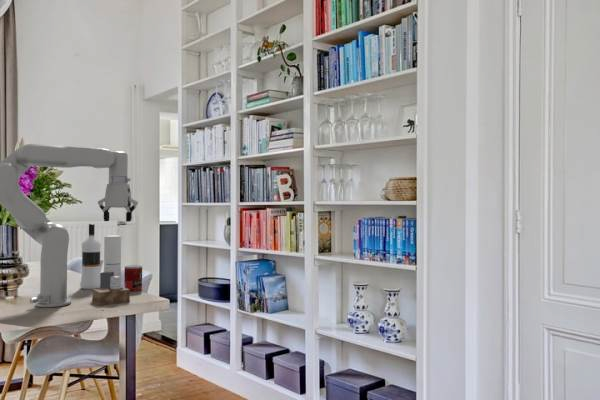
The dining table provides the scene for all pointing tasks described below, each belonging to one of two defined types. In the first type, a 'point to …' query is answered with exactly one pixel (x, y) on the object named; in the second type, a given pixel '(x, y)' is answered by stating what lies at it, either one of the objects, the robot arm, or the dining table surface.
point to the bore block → (110, 296)
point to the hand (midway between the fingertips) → (117, 221)
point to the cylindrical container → (112, 254)
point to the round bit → (115, 283)
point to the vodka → (91, 261)
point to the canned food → (133, 277)
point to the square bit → (105, 279)
